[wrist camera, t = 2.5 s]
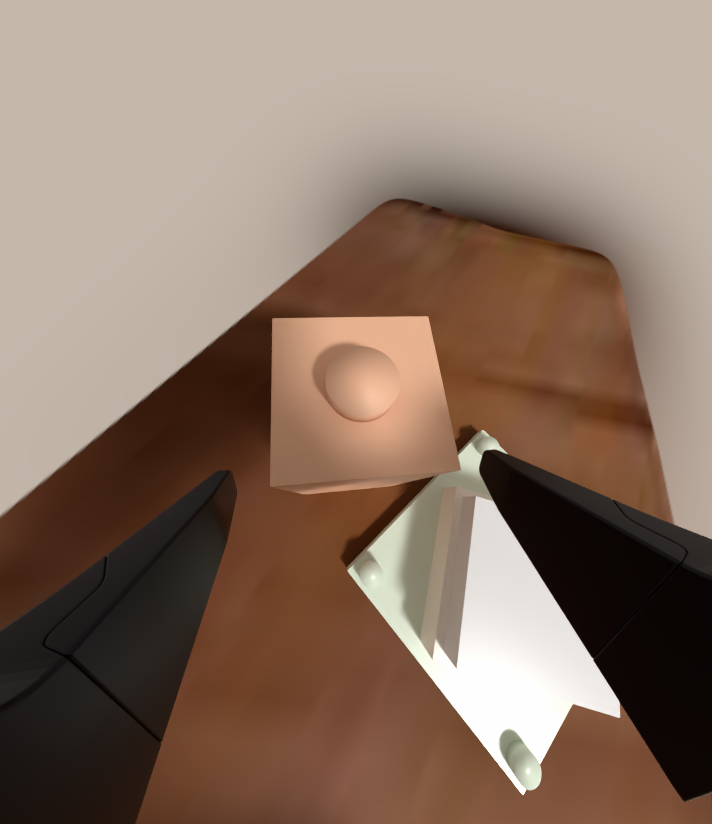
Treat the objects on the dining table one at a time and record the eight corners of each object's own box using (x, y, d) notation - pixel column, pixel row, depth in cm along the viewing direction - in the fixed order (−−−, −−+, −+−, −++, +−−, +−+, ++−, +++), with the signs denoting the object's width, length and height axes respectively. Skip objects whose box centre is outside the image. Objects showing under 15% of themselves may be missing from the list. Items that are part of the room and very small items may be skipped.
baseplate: (625, 579, 18) (650, 585, 17) (512, 779, 14) (532, 810, 13) (477, 432, 21) (488, 427, 19) (346, 567, 17) (347, 573, 15)
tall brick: (388, 486, 19) (474, 467, 8) (304, 494, 18) (263, 485, 7) (378, 408, 21) (435, 301, 9) (302, 413, 20) (267, 302, 9)
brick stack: (565, 684, 15) (631, 735, 12) (419, 640, 15) (444, 679, 12) (565, 524, 18) (617, 529, 15) (443, 487, 18) (468, 484, 15)
